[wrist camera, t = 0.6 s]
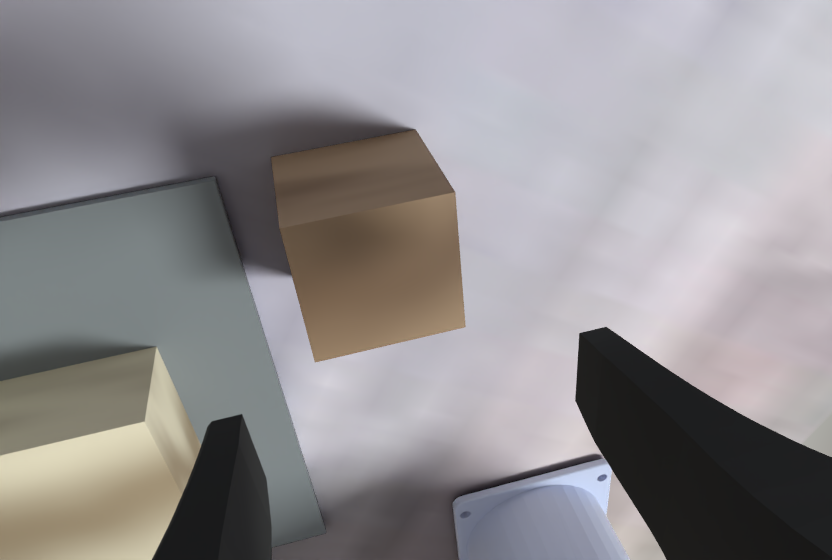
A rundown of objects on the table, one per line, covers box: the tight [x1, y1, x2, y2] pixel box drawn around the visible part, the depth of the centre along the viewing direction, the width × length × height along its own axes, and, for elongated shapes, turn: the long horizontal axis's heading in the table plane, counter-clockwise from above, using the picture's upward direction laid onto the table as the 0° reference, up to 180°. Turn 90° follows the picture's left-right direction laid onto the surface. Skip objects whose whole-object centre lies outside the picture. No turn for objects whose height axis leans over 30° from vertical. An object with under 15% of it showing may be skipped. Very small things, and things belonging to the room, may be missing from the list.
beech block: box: [0, 347, 201, 560], centre depth 22 cm, size 7×7×4 cm
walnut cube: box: [271, 129, 465, 362], centre depth 19 cm, size 4×4×4 cm
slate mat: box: [0, 176, 326, 548], centre depth 23 cm, size 18×14×1 cm
